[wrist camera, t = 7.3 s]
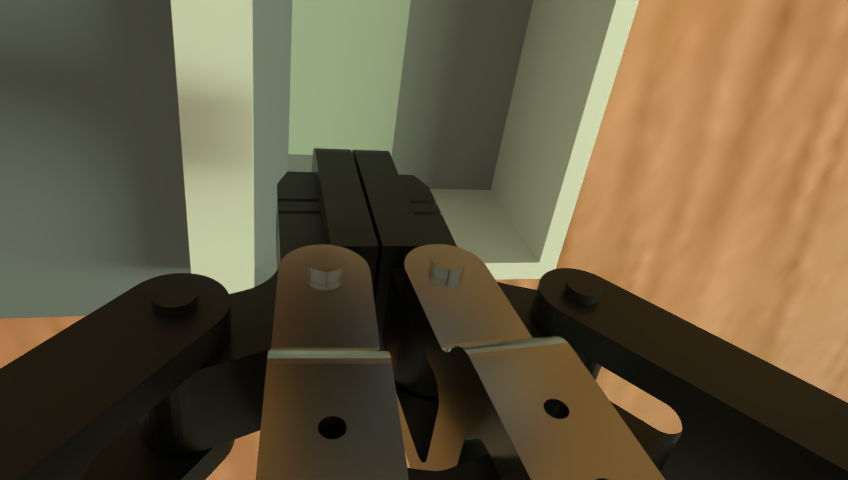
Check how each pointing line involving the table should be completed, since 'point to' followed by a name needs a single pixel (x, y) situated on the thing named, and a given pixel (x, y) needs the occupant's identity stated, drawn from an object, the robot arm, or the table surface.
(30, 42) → the lid
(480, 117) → the box
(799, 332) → the table surface
